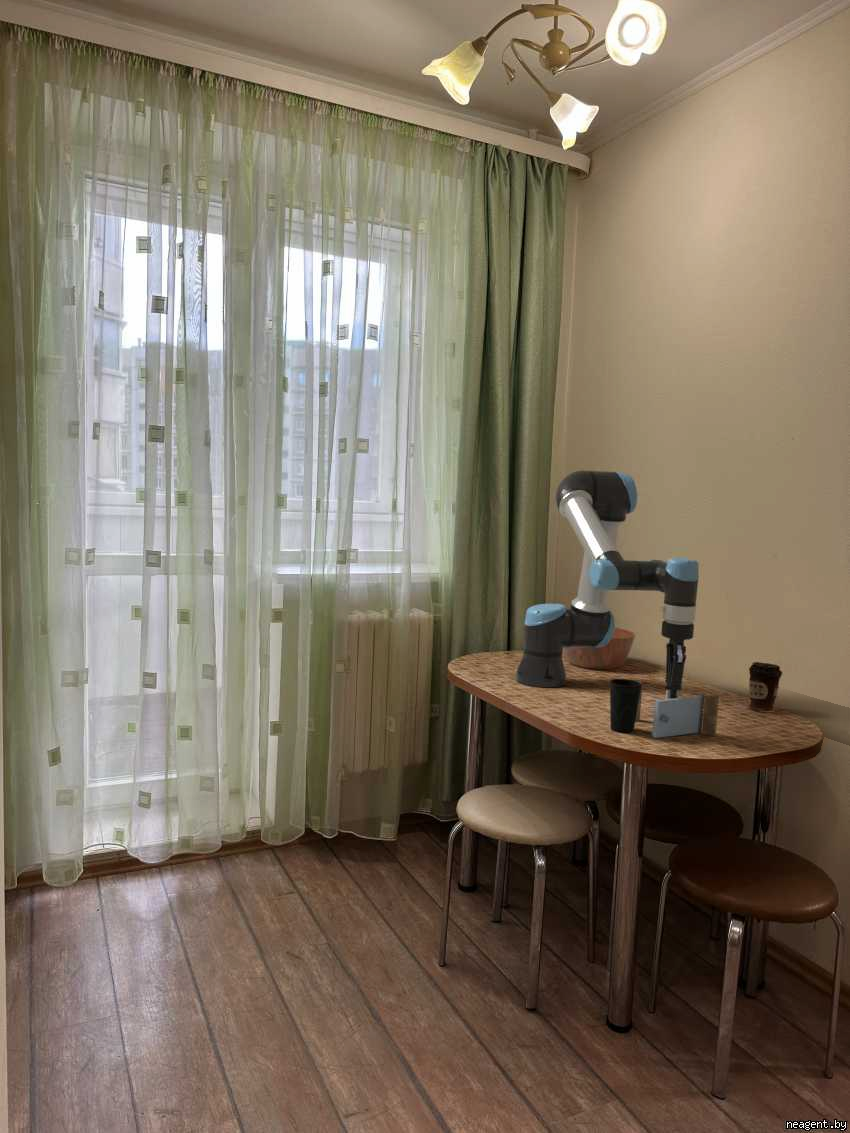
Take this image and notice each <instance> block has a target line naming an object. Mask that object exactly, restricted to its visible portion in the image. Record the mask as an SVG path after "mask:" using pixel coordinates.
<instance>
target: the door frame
mask: <svg viewBox="0 0 850 1133" xmlns="http://www.w3.org/2000/svg"><path fill="white" fill-rule="evenodd" d="M636 681H637V682H640V683H641V684H642V686H641V692H640V698H639V703H638V709H637V714H636V720H635V722H639V721H640V720H641V719H640V718H641V708H642V707H641V706H642V696H643V695H642V694H643V681H639V680H636ZM719 701H720V695H719V694H714V693H708V692H707V693H705V696H704V707H703V719H702V730H701V733H700V734H701V735H705V736H710V737H715V736H716V734H717V725H718V724H717V722H718V713H719V703H720V702H719Z"/></svg>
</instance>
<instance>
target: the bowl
mask: <svg viewBox="0 0 850 1133" xmlns="http://www.w3.org/2000/svg"><path fill="white" fill-rule="evenodd" d="M635 637H636V634H635V633H634V632H633V631H631V630H628V629H624V628H621V627H619V628H618V627H615V629H614V633H613V636H612V638H611V640H610V642H609V643H608V644H607V645H605V646H604V647H596V648H563V649H562V652H563V654H564V656H565V658H566V659H567V661H568V662H569V663H570V664H571V665H573V666H576V667H579V668H583V669H589V670H605V671H606V670H613V669H614V670H615V669H617V668H619V667H621V666H622V665H623V664H624V663H625V661H626V660H627V658H628V657H629V654H630V652H631V649H632V646H633V643H634V640H635Z"/></svg>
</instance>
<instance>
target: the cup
mask: <svg viewBox="0 0 850 1133" xmlns="http://www.w3.org/2000/svg"><path fill="white" fill-rule="evenodd" d="M637 681H638V680H633V679H628V678H614V679H611V680H610V681H609V698H610V699H609V705H610V706H609V707H610V708H609V711H610V712H609V713H610V717H609V718H610V730H611V731H613V732H615V733H619V734H631V733H634V732H635V731H634V730H635V724H636V721H635V720H636V714H637V709H638V703H639V698H640V692H641V686H642V687H643V685H642V684H641V683H640V682H641V681H639V682H637Z"/></svg>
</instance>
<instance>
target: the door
mask: <svg viewBox="0 0 850 1133" xmlns="http://www.w3.org/2000/svg"><path fill="white" fill-rule="evenodd" d="M705 694H706V693H705V692H701V691H700V692H698V695H695V696H684V697H678V698H673V699H666V698H665V699H655V700H654V705H653V706H654V708H653V720H652V733H651V737H652V738H654V739H659V738H667V737H674V736H681V735H682V736H683V735H689V734H701V733H702V722H703V711H704V700H705Z"/></svg>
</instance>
